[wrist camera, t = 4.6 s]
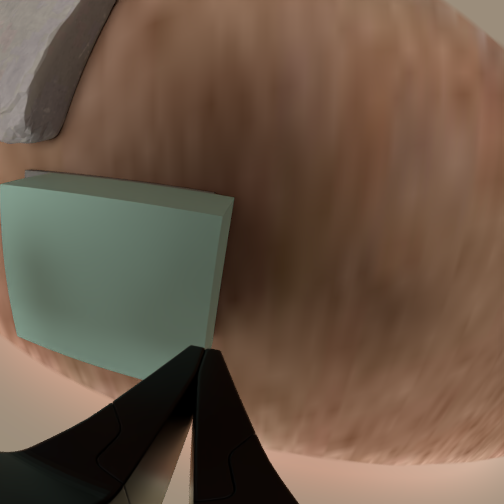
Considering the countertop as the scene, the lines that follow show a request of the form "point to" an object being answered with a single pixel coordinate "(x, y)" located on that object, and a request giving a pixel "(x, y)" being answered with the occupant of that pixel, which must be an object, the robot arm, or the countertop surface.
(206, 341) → the slab
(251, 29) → the countertop surface
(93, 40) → the stone block
